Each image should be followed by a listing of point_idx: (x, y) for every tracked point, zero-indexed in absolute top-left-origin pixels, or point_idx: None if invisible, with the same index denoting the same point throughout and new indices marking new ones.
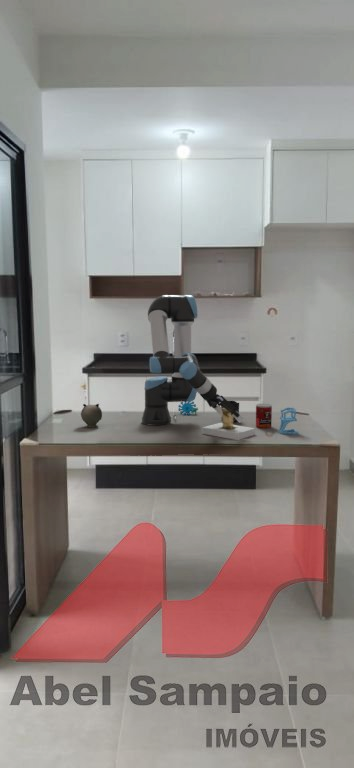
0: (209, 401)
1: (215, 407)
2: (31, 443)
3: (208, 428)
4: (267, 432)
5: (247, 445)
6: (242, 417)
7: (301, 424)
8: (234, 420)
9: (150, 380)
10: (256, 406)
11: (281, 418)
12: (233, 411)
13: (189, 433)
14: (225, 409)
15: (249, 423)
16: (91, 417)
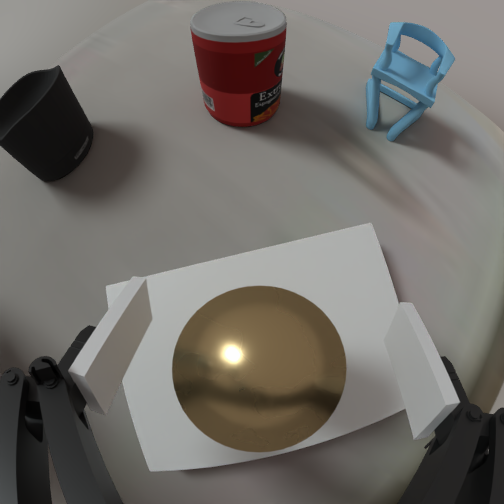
0: (42, 493)
1: (84, 401)
2: None
3: (196, 468)
4: (347, 158)
5: (480, 402)
6: (416, 312)
7: (292, 26)
8: (86, 143)
9: None
10: (214, 40)
11: (401, 83)
12: (486, 453)
13: (122, 490)
14: (286, 432)
15: (150, 110)
16: None
